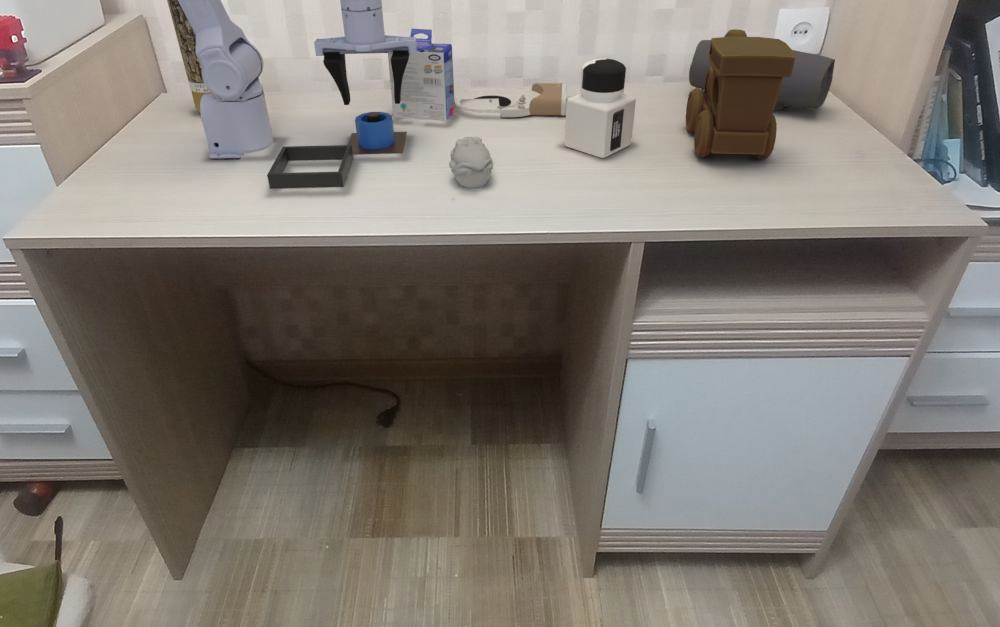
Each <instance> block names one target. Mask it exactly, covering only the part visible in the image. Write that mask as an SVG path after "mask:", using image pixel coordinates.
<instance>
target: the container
mask: <svg viewBox="0 0 1000 627" xmlns="http://www.w3.org/2000/svg"><path fill="white" fill-rule="evenodd" d="M626 74H627V67H626V66H625V64H623V63H622V62H620V61H619V60H616V59H612V58H594V59H591V60H587V61H585V62H584V63H583V65H582V66H581V74H580V93H578V94H576V95H573V96H571V97H568V98H566V116H565V129H564V130H565V131H564V146H565V147H566V148H570V149H572V150H576V151H578V152H581V153H585V154H587V155H591V156H594V157H597V158H599V159H605V158H607V157H609V156H611V155H613V154H615V153H617V152H620V151H621V150H624V149H625V148H627V147H630V145H632V141H633V140H632V139H633V131H634V122H635V121H634V120H635V112H636V102H637V98H636V96H633V95H628V94H624V93H625V84H626Z"/></svg>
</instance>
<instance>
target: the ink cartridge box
mask: <svg viewBox="0 0 1000 627" xmlns="http://www.w3.org/2000/svg"><path fill="white" fill-rule="evenodd" d="M420 34H423V35H425V36H427V38H417V37H416V45H417V52H416V54H410V55H409V60H408V63H407V66H406V68H405V72H404V75H403V79H402V85H401V101H400V104H395V99H394V79H393V72H392V65H391V57H392V54H393V53H387V59H388V69H389V70H388V71H389V81H390V82H389V83H390V92H391V103H392V114H393V115H392V117H393V118H401V119H402V118H403V119H418V120H420V119H421V120H432V121H433V120H434V121H448V120H450V118H451V117H452V116H453V114H454V113H455V112H456V105H455V102H454V99H455V82H454V62H453V45H452V44H451V43H433V42H432V40H433V39H432V37H433V30H432V29H429V28H428V29H425V28H411V29H410V36H409V37H415V35H420Z"/></svg>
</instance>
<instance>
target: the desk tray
mask: <svg viewBox="0 0 1000 627" xmlns="http://www.w3.org/2000/svg"><path fill="white" fill-rule="evenodd" d="M337 160H338V161H340V160H341V162H340V165H339V168H338V171H310V172H309V171H307V172H306V171H305V172H284V171H285V168H287V165H288V163H289V162H296V161H297V162H298V161H299V162H300V161H303V162H305V161H337ZM353 160H354V155H353V152H352V145H348V144H334V145H333V144H332V145H331V144H330V145H297V146H296V145H294V146H291V145H290V146H282V147H281V149H280V151H279V152H278V154H277V156H276V158H275V160H274V162H273V164H272V165H271V166H270V167H271V168H270V169H269V171H268V173H267V174H266V176H267V181H268V186H269V189H277V190H278V189H279V190H280V189H311V188H312V189H316V188H319V189H320V188H344V187H345V184H346V181H347V178H348V175H349V173H350V169H351V167H352V163H353Z"/></svg>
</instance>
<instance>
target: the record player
mask: <svg viewBox="0 0 1000 627" xmlns="http://www.w3.org/2000/svg"><path fill="white" fill-rule="evenodd" d="M488 99H489V100H488ZM493 99H495V100H496V99H497V100H498V106H497V109H482V108H480V109H479V108H478V109H477V108H470V107H465V106H463V105H462V104H461V100H488V102H489V103H492V102H493ZM454 102H455V107H457V108H458V109H460V110H463V111H466V112H472V113H482V114H484V113H486V114H499V116H500V118H522V117H527V116H565V117H566V105H567V83H562V82H561V83H557V82H554V83H552V82H550V83H549V82H547V83H545V82H538V83H537V82H536V83H533V84H532V86H531V89H528V88H517V87H516V88H514V87H511V88H510V87H509V88H508V87H485V88H483V87H481V88H474V89H473V88H472V89H470V90H469V89H468V90H465V91H462V92H460V93H458V94H457V95H456V96H454Z"/></svg>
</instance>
